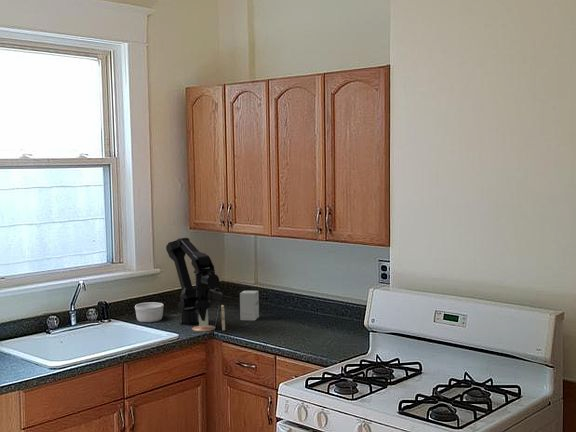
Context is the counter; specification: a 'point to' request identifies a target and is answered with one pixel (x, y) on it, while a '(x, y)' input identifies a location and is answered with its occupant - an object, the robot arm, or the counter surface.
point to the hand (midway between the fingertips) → (203, 319)
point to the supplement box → (249, 305)
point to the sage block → (205, 319)
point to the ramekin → (149, 311)
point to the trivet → (203, 328)
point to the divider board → (223, 317)
